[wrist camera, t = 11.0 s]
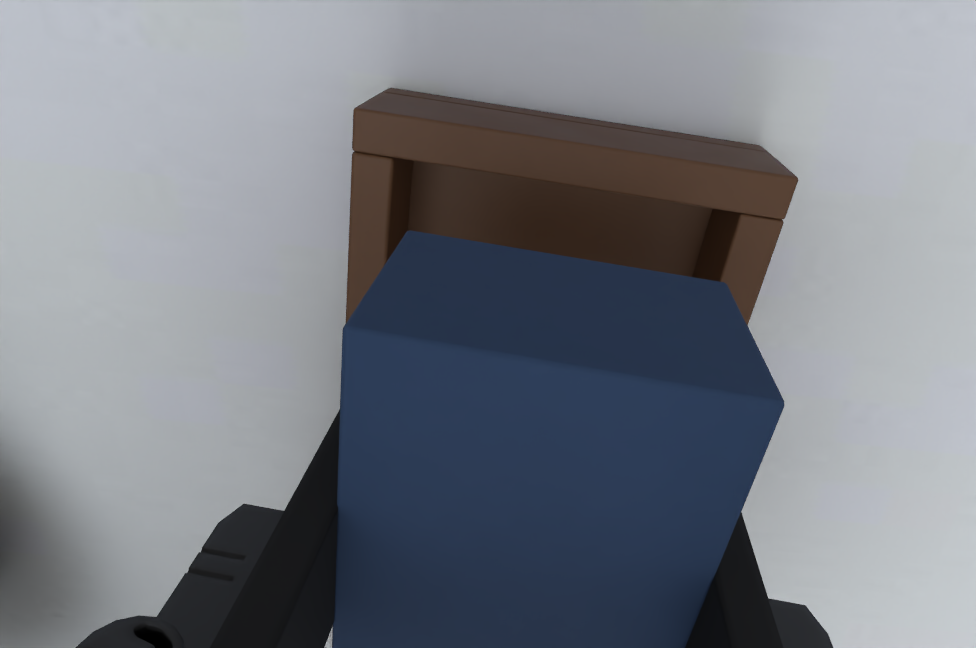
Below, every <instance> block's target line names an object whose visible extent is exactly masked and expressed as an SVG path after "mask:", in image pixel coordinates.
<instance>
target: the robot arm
mask: <svg viewBox="0 0 976 648" xmlns="http://www.w3.org/2000/svg"><path fill="white" fill-rule="evenodd" d="M339 429H340V410H339V412H338V414H337V416H336V417H335V419H334V421H333V423H332V425H331V427H330V428H329V430H328V432H327V434H326V436H325V438H324V439H323V441H322V443H321V445H320V447H319V449H318V450H317V452H316V454H315V456H314V458H313V460H312V461H311V463H310V465H309V467H308V469H307V471H306V472H305V474H304V476H303V478H302V480H301V481H300V483H299V485H298V487H297V489H296V491H295V492H294V494H293V496H292V498H291V500H290V502H289V503H288V505H287V507H286V509H285V511H281V510H275V509H270V508H264V507H259V506H253V505H248V504H243V505H242V506H240V507H239V508H238V509H236V510H235V511H234V512H232V513H231V514H230V515H228V516H227V517H226V518H224V519H223V520H222V521H220V522H219V523H218V524H217V526H216V527H215V529H214V530H213V532H212V533H211V535H210V536H209V538H208V539H207V541H206V543H205V544H204V546H203V547H202V551H201V553H200V552H199V553H198V555H197V556H196V558H195V559H194V561H193V562H192V564H191V565H190V567H189V571H188V573H185V575H184V576H183V578H182V579H181V581H180V582H179V584H178V585H177V587H176V588H175V590H174V591H173V593H172V594H171V596H170V597H169V599H168V601H167V602H166V604H165V605H164V607H163V608H162V610H161V611H160V613H159V614H158V616H157V617H148V616H135V617H130V618H125V619H120V620H116V621H114V622H112V623H110V624H108V625H106V626H104V627H102V628H100V629H98V630H96V631H94V632H93V633H92V634H90V635H89V636H88V637H87V638H86V639H85V640H84V641H82V642H81V643H80V644H79V645H78V646H77V647H76V648H324V647H325V644H326V641H327V639H328V636H329V633H330V631H331V628H332V625H333V623H334V612H335V583H336V554H337V524H338V506H337V489H338V459H339ZM685 648H833V646H832V643H831V641H830V638H829V636H828V634H827V632H826V631H825V630H824V629H823V627H822V626H821V625H820V623H819V622H818V621H817V620H816V618H815V617H814V616H813V615H812V613H811V612H810V611H809V609H808V608H807V607H806V606H805V605H800V604H795V603H790V602H784V601H779V600H773V599H768V597H767V593H766V590H765V587H764V584H763V581H762V577H761V574H760V571H759V568H758V564H757V561H756V558H755V555H754V552H753V548H752V545H751V542H750V539H749V536H748V532H747V529H746V526H745V523H744V520H743V516H742V513H740V515H739V518H738V520H737V523H736V525H735V528H734V530H733V532H732V535H731V537H730V540H729V542H728V545H727V547H726V550H725V552H724V554H723V557H722V559H721V562H720V564H719V567H718V569H717V572H716V574H715V576H714V578H713V581H712V583H711V586H710V588H709V590H708V593H707V595H706V598H705V600H704V603H703V605H702V608H701V610H700V612H699V615H698V617H697V620H696V622H695V625H694V627H693V630H692V632H691V634H690V637H689V639H688V642H687V644H686V647H685Z"/></svg>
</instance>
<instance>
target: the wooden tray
mask: <svg viewBox="0 0 976 648" xmlns="http://www.w3.org/2000/svg"><path fill="white" fill-rule="evenodd" d="M352 148H353V150H354V152H353V154H352V172H351V199H350V225H349V251H348V278H347V304H346V323H347V321H348V320H349V318H350V317H351V315H352V314H353V312H354V311H355V309H356V308H357V306H358V305H359V303H360V302H361V300H362V299H363V297H364V295H365V294H366V292H367V291H368V289H369V288H370V286H371V285H372V283H373V282H374V280H375V279H376V277H377V276H378V274H379V273H380V271H381V270H382V268H383V267H384V265H385V264H386V262H387V261H388V259H389V258H390V256H391V255H392V253H393V252H394V250H395V249H396V247H397V246H398V244H399V243H400V241H401V240H402V238H403V237H404V235H405V233H406V232H407V231H410V230H411V231H417V232H423V233H429V234H435V235H441V236H447V237H453V238H459V239H465V240H471V241H477V242H483V243H489V244H495V245H501V246H507V247H513V248H519V249H525V250H532V251H538V252H544V253H550V254H556V255H562V256H568V257H574V258H580V259H586V260H592V261H598V262H604V263H610V264H616V265H622V266H628V267H634V268H640V269H646V270H652V271H658V272H664V273H670V274H676V275H682V276H688V277H694V278H700V279H706V280H712V281H718V282H724V283H726V284H727V285H728V287H729V289H730V291H731V293H732V295H733V298H734V300H735V302H736V304H737V306H738V308H739V310H740V312H741V314H742V316H743V318H744V320H745V322H746V324H747V325H748V322H749V320H750V317H751V314H752V311H753V308H754V305H755V303H756V300H757V297H758V294H759V291H760V288H761V285H762V283H763V280H764V277H765V274H766V271H767V268H768V265H769V263H770V260H771V257H772V254H773V251H774V248H775V245H776V243H777V240H778V237H779V234H780V231H781V228H782V225H783V220H782V219H784V218H785V216H786V213H787V210H788V208H789V205H790V202H791V199H792V196H793V193H794V190H795V188H796V185H797V182H798V178H797V177H796V176H795V175H794V174H793V173H792V172H791V171H789V170H788V169H787V168H786V167H785V166H784V165H782V164H781V163H780V162H779V161H778V160H777V159H776V158H774V157H773V156H772V155H771V154H770V153H768V152H767V151H766V150H765V149H764V148H763V147H761V146H759V145H753V144H746V143H740V142H734V141H727V140H721V139H714V138H708V137H702V136H695V135H689V134H682V133H676V132H670V131H663V130H657V129H650V128H644V127H638V126H631V125H625V124H618V123H612V122H605V121H599V120H593V119H586V118H580V117H573V116H567V115H561V114H554V113H548V112H541V111H535V110H529V109H522V108H516V107H509V106H503V105H497V104H490V103H484V102H477V101H471V100H464V99H458V98H452V97H445V96H439V95H432V94H426V93H420V92H413V91H407V90H400V89H394V88H389V89H387V90H385V91H383V92H382V93H380V94H378V95H376V96H375V97H373V98H371V99H369V100H368V101H366V102H364V103H363V104H361V105H359V106H357V107H356V108H355V109H354V115H353V141H352Z"/></svg>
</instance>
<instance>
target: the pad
mask: <svg viewBox="0 0 976 648" xmlns="http://www.w3.org/2000/svg"><path fill="white" fill-rule="evenodd" d="M783 408H784V400H783V398H782V396H781V394H780V392H779V390H778V388H777V386H776V384H775V382H774V380H773V378H772V376H771V373H770V371H769V369H768V367H767V365H766V363H765V361H764V359H763V357H762V355H761V353H760V351H759V349H758V347H757V345H756V343H755V341H754V339H753V337H752V334H751V332H750V330H749V328H748V326H747V324H746V322H745V320H744V318H743V316H742V314H741V312H740V310H739V308H738V306H737V304H736V302H735V300H734V298H733V295H732V293H731V291H730V289H729V287H728V285H727V284H726V283H724V282H718V281H712V280H706V279H700V278H694V277H688V276H682V275H676V274H670V273H664V272H658V271H652V270H646V269H640V268H634V267H628V266H622V265H616V264H610V263H604V262H598V261H592V260H586V259H580V258H574V257H568V256H562V255H556V254H550V253H544V252H538V251H532V250H525V249H519V248H513V247H507V246H501V245H495V244H489V243H483V242H477V241H471V240H465V239H459V238H453V237H447V236H441V235H435V234H429V233H423V232H417V231H411V230H410V231H407V232H406V233H405V235H404V237H403V238H402V240H401V241H400V243H399V244H398V246H397V247H396V249H395V250H394V252H393V253H392V255H391V256H390V258H389V259H388V261H387V262H386V264H385V265H384V267H383V268H382V270H381V271H380V273H379V274H378V276H377V277H376V279H375V280H374V282H373V283H372V285H371V286H370V288H369V289H368V291H367V292H366V294H365V295H364V297H363V299H362V300H361V302H360V303H359V305H358V306H357V308H356V309H355V311H354V312H353V314H352V315H351V317H350V318H349V320H348V321H347V323H346V324H345V326H344V328H343V339H342V369H341V399H340V429H339V459H338V489H337V506H338V524H337V554H336V583H335V612H334V623H333V639H332V648H685V647H686V644H687V642H688V639H689V637H690V634H691V632H692V630H693V627H694V625H695V622H696V620H697V617H698V615H699V612H700V610H701V608H702V605H703V603H704V600H705V598H706V595H707V593H708V590H709V588H710V586H711V583H712V581H713V578H714V576H715V574H716V572H717V569H718V567H719V564H720V562H721V559H722V557H723V554H724V552H725V550H726V547H727V545H728V542H729V540H730V537H731V535H732V532H733V530H734V528H735V525H736V523H737V520H738V518H739V515H740V513H741V511H742V508H743V506H744V503H745V501H746V498H747V496H748V493H749V491H750V489H751V486H752V484H753V481H754V479H755V476H756V474H757V471H758V469H759V467H760V464H761V462H762V459H763V457H764V454H765V452H766V449H767V447H768V445H769V442H770V440H771V437H772V435H773V432H774V430H775V427H776V425H777V423H778V420H779V418H780V415H781V413H782V410H783Z"/></svg>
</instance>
